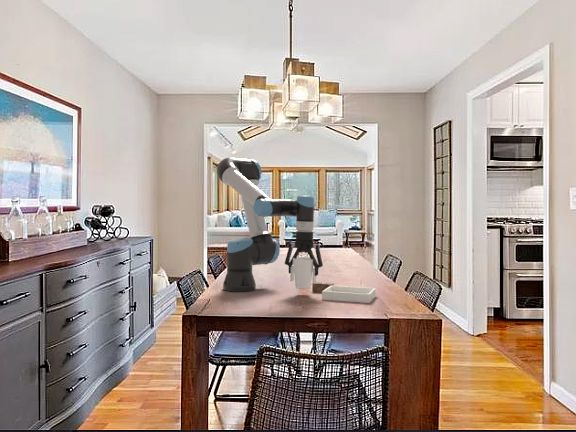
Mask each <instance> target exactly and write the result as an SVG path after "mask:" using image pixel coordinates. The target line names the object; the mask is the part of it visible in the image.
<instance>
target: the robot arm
mask: <svg viewBox="0 0 576 432" xmlns="http://www.w3.org/2000/svg"><path fill="white" fill-rule="evenodd" d="M216 174H217V177H218V179H219V180H220V181H221V183H223V184H224V185H225V186H230V187H231V188H232V189H233V191H236V193H237V194H239V195H240V196H241V201H242V204H243V209H244V214H245V219H246V223H247V229H248V233H249V237H239V238H233V239H230V240H229V241H228V242H227V248H226V275H225V278H224V280H223V283H222V290H223V291H227V292H238V293H239V292H240V293H241V292H243V293H244V292H251V291H255V290H257V284H256V280H255V278H254V274H253V266H260V265H269V264H273V263H275V262H276V261H277V260H278V258H279V256H280V251H281V250H280V244H279V242H278V241H277V240H276V239H274V238H273V237H272V233H271V232H269V231H268V229H267V228H268V227H267V224H266V220H265V218H266V217H296V219H295V221H296V222H295V223H296V224H295V225H296V227H295V230H296V232H295V241H294V242H288V250H287V253H286V256H285V257H286V258H285V259H284V260H285V261H284V265H286V266H288V274H290V280H289V281H290V282H291V283H293V282H295V277H294V266H293V258H295V259H296V258H297V257H299V254H300V253H307V255H309V257H310V258H311V259H313V265H314V267H313V273H312V283H316V282H317V276H319V270H320V268H322V267H323V266H324V265H323V261H322V255H321V251H320V248H321V245H320V243H317V244H316V243H314V232H313V231H314V217H315V215H314V214H315V213H314V212H315V198H314V196H312V195H297V197H296V199H292V198H291V199H290V198H287V199H286V198H283V199H282V198H279V199H278V198H274V199H273V198H270V197H269V196H268V195H267V194H266V193H264V191H262V190H261V189H260V188H259V187H258V186H259V184H260V180H261V178H262V167H261V165H260V164H259V162H258V161H257V160H255V159H251V158H246V157H245V158H242V157H239V158H238V157H225V158H223V159H222V160H221V161H219V163H217V167H216ZM294 247H296V250H295V252H294V254H293V256H292V253H293V250H294ZM313 248H314V250H315V255H316V257H315V255H314V253H313V250H312V249H313ZM291 257H292V258H291Z"/></svg>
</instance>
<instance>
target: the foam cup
mask: <svg viewBox="0 0 576 432" xmlns="http://www.w3.org/2000/svg"><path fill="white" fill-rule="evenodd" d="M292 266H294V286H295V288H296V289H298V290H310V289H311V285H312V280H313V268H315V267H314V265H313V259H311V258H310V256H309V257H307V256H297V258H296V259H295V258H293V265H292Z"/></svg>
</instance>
